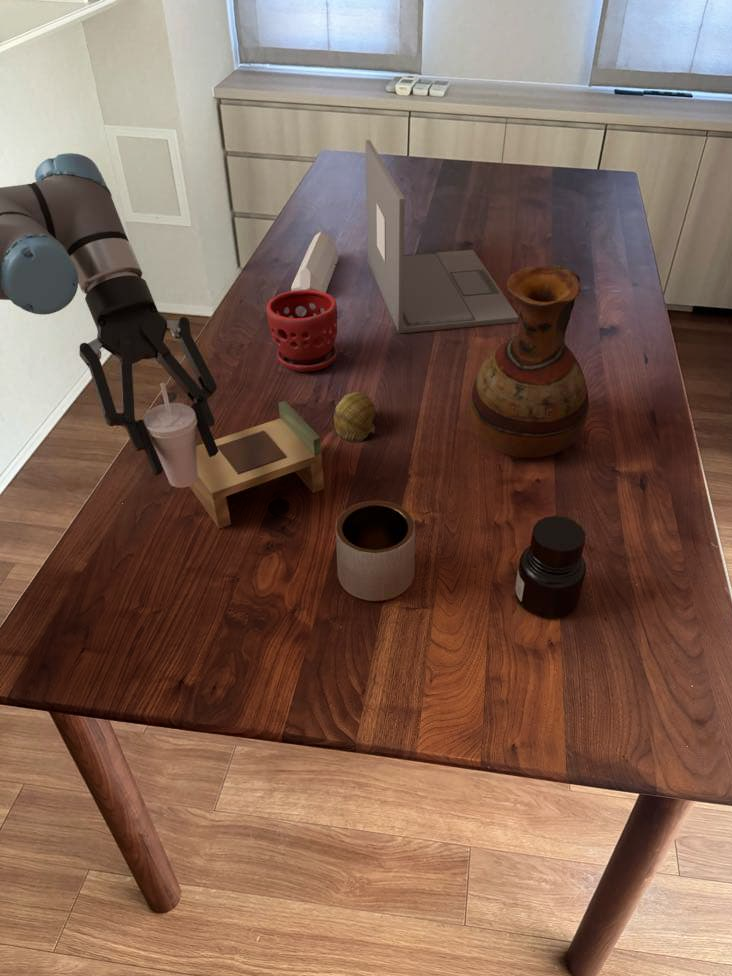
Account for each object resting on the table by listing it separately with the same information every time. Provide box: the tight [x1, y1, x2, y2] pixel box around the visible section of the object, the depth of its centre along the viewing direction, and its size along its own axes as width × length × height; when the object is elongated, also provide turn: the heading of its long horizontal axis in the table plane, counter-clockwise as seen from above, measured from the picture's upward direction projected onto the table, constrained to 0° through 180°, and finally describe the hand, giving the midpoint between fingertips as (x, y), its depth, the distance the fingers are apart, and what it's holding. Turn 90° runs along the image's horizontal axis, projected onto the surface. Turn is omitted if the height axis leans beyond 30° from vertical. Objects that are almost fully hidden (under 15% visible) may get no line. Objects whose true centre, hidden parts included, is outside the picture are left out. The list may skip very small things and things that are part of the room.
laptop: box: [365, 139, 520, 335], centre depth 169 cm, size 35×26×27 cm
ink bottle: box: [514, 515, 587, 620], centre depth 106 cm, size 10×9×12 cm
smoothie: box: [142, 382, 198, 489], centre depth 98 cm, size 6×6×14 cm
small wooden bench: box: [189, 400, 325, 530], centre depth 123 cm, size 18×12×10 cm, turn 123°
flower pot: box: [265, 290, 338, 373], centre depth 152 cm, size 13×13×12 cm
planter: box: [334, 500, 416, 602], centre depth 109 cm, size 11×11×10 cm
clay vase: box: [470, 263, 590, 458], centre depth 128 cm, size 20×20×30 cm
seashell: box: [333, 391, 376, 443], centre depth 138 cm, size 10×7×8 cm
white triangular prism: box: [290, 230, 339, 293], centre depth 180 cm, size 7×7×24 cm
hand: (186, 463), depth 98 cm, fingers closed on smoothie, 6 cm apart
